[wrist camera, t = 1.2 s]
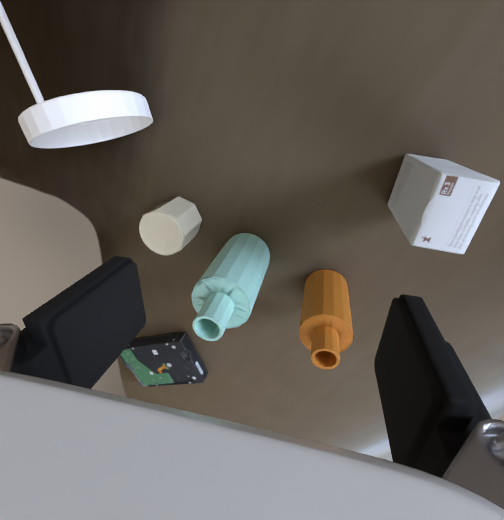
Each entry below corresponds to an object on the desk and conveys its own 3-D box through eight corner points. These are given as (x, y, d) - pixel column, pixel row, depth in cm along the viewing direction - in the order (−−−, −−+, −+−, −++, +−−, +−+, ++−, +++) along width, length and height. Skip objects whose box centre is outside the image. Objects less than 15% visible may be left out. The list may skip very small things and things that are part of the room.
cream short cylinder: (155, 205, 41) (130, 220, 36) (188, 192, 39) (167, 205, 34) (174, 241, 43) (153, 260, 38) (207, 230, 41) (190, 248, 36)
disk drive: (186, 329, 51) (122, 339, 56) (179, 340, 49) (113, 350, 54) (209, 371, 55) (148, 377, 60) (204, 383, 53) (141, 389, 58)
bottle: (217, 240, 41) (163, 307, 28) (259, 227, 39) (223, 293, 25) (236, 278, 44) (194, 358, 30) (276, 268, 41) (251, 350, 28)
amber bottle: (299, 274, 41) (288, 341, 29) (340, 264, 39) (346, 333, 27) (311, 307, 43) (306, 381, 31) (351, 299, 41) (361, 376, 29)
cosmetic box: (424, 211, 33) (467, 260, 23) (383, 205, 34) (408, 249, 24) (447, 156, 30) (509, 182, 20) (402, 149, 31) (440, 172, 21)
